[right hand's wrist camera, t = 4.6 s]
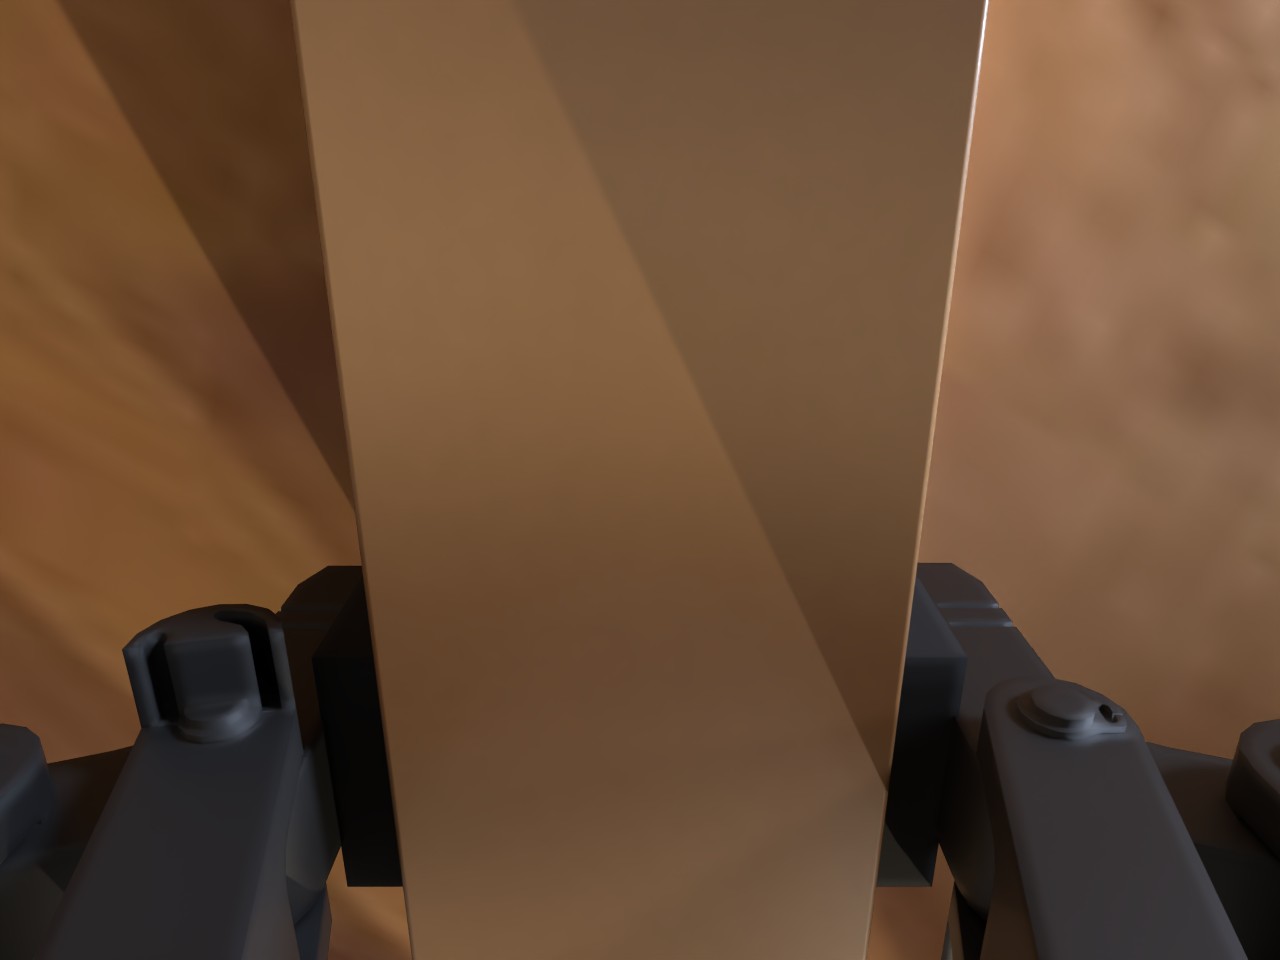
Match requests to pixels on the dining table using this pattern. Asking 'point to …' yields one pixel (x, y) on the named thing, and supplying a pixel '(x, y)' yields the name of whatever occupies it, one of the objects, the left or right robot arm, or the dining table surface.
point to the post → (639, 445)
